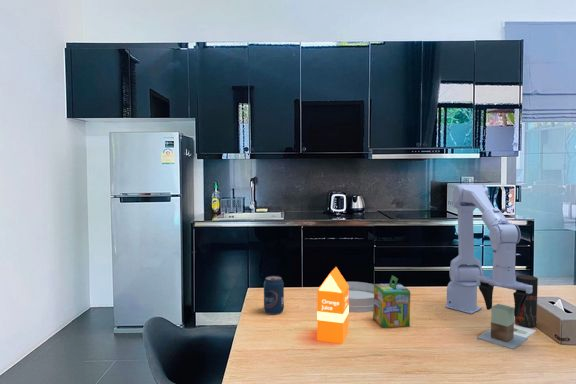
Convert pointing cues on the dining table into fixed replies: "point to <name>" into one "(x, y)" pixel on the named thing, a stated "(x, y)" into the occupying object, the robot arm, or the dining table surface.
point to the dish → (361, 297)
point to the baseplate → (511, 344)
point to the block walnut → (502, 332)
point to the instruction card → (523, 331)
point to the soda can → (273, 295)
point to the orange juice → (333, 308)
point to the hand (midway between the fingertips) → (502, 312)
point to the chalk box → (391, 304)
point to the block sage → (502, 315)
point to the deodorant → (528, 303)
